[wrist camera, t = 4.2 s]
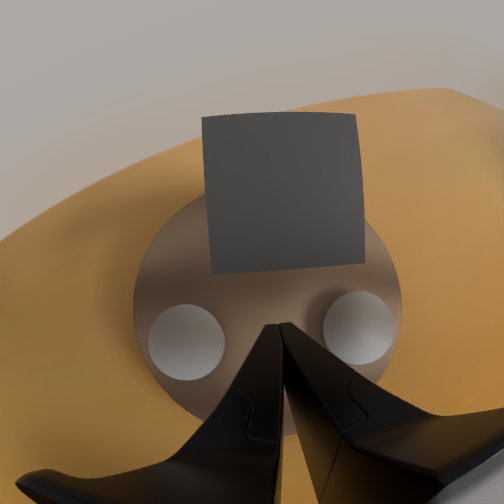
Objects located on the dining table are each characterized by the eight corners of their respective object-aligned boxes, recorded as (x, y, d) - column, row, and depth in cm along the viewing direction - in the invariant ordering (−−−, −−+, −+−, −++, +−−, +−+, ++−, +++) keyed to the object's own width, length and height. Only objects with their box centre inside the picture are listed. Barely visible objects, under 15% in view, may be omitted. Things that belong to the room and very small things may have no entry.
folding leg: (295, 230, 16) (364, 263, 6) (232, 234, 16) (212, 275, 6) (291, 167, 16) (355, 114, 6) (228, 170, 16) (201, 117, 6)
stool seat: (398, 405, 14) (427, 406, 11) (150, 427, 14) (125, 436, 10) (357, 198, 20) (370, 167, 17) (157, 210, 20) (142, 181, 17)
